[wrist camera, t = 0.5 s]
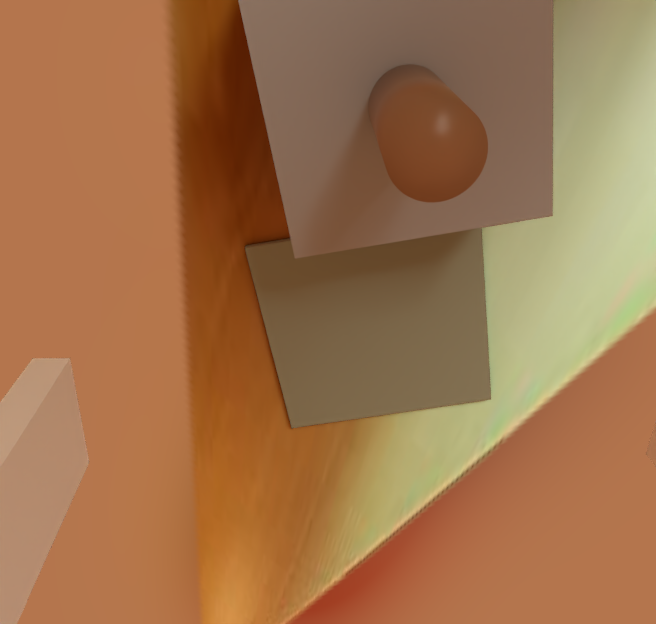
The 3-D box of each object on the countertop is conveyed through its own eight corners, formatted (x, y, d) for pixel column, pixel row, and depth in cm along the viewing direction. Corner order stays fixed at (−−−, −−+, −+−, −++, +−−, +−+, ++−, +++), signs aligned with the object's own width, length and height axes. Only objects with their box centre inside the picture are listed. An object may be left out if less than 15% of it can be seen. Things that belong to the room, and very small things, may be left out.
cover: (504, -81, 32) (644, -112, 18) (511, 171, 38) (619, 288, 24) (249, -30, 33) (200, -22, 19) (299, 207, 39) (288, 340, 25)
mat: (478, 206, 39) (480, 208, 39) (489, 395, 46) (491, 399, 46) (245, 245, 40) (244, 248, 40) (291, 424, 47) (291, 428, 47)
